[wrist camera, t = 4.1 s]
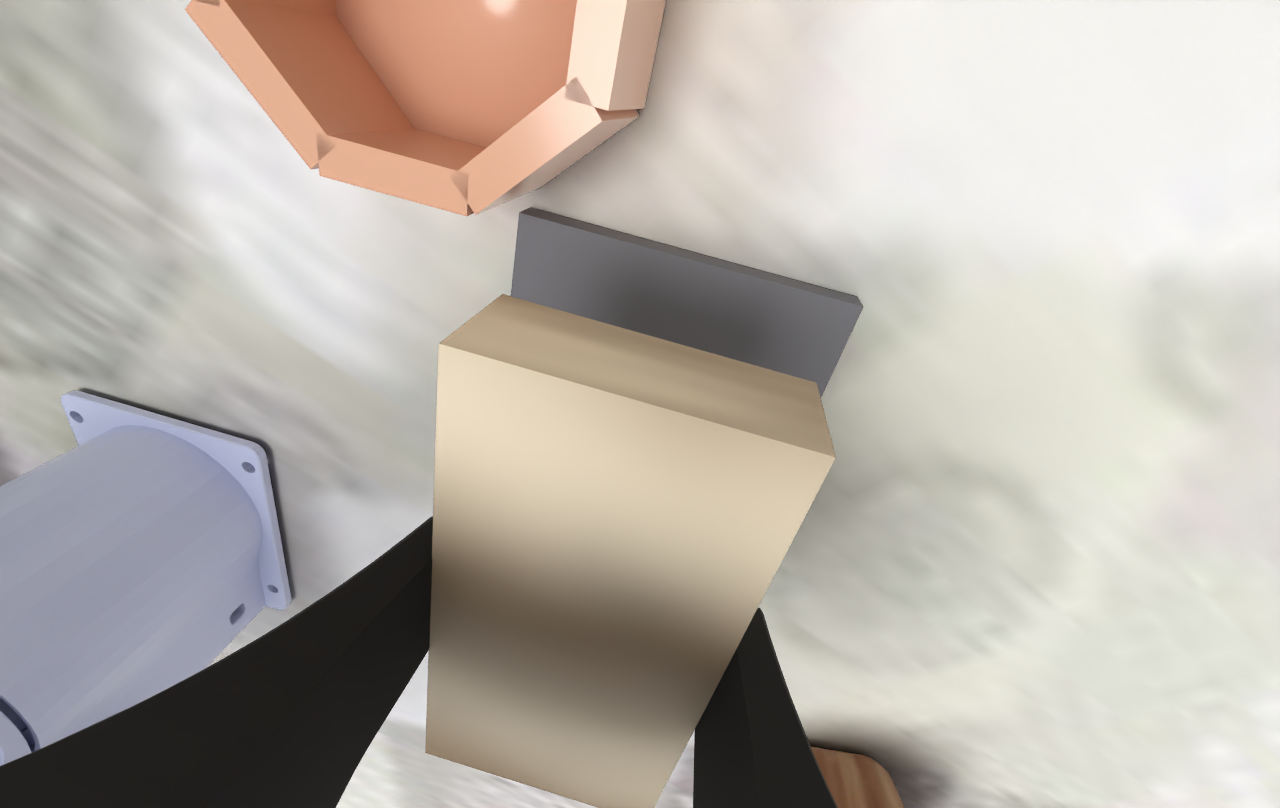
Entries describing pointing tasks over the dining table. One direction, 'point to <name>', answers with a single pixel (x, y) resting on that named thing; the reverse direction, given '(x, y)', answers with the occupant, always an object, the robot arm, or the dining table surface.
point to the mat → (682, 296)
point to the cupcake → (856, 780)
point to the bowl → (441, 86)
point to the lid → (600, 542)
